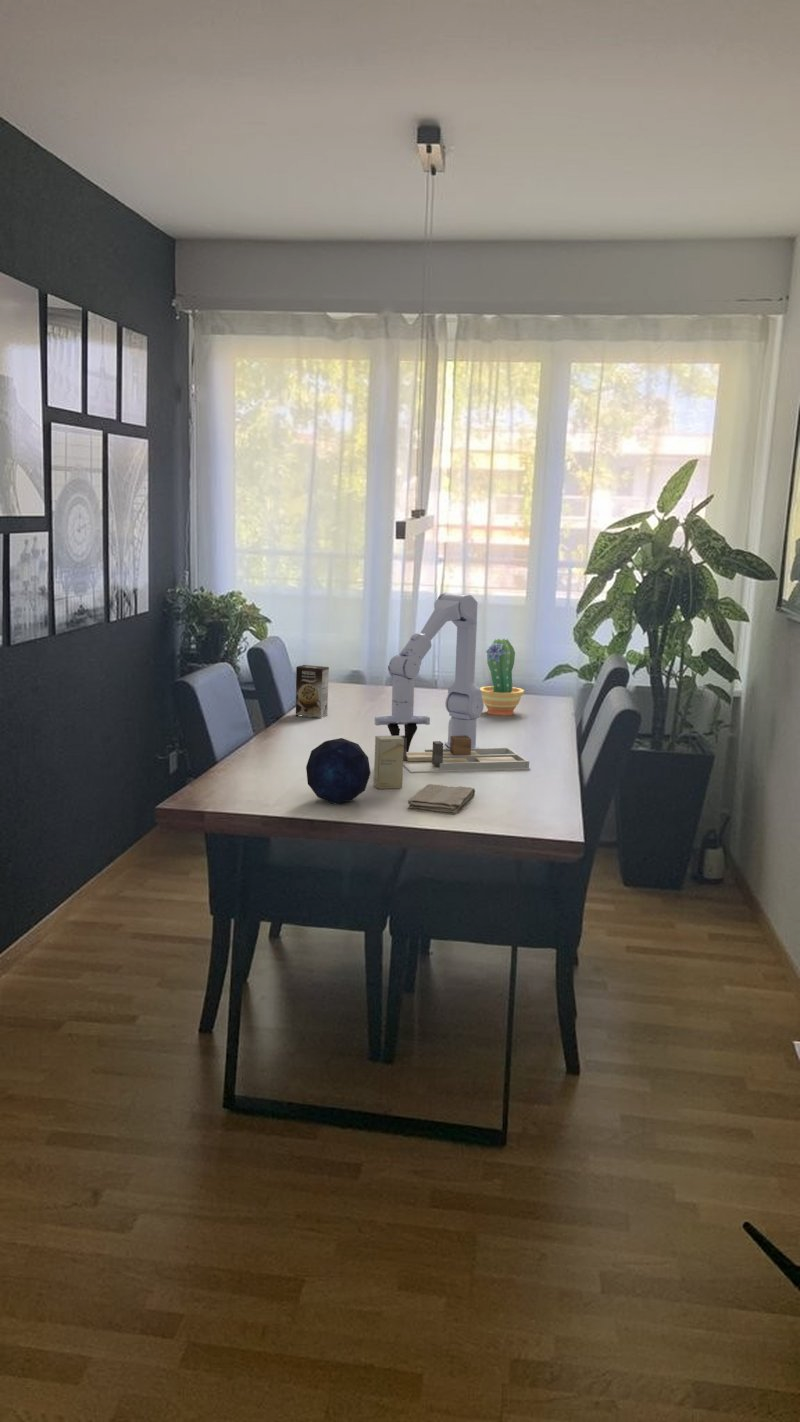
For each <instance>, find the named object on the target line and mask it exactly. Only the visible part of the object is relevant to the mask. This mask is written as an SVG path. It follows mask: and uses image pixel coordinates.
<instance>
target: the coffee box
mask: <svg viewBox="0 0 800 1422" xmlns="http://www.w3.org/2000/svg"><path fill="white" fill-rule="evenodd" d="M295 669H296V675H295V676H296V678H295V680H296V681H295V682H296V683H295V685H296V686H295V716H296V715H302V716H310V717H309V718H312V717H318V718H317V719H322V717H323V718H325V717H327V716H328V711H329V710H328V709H329V708H328V707H329V706H328V705H329V704H328V703H329V700H328V699H329V674H330V673H329V670H330V667H329V666H323V665H322V666H320V665H309V664H302V665H298V666H296V668H295ZM326 715H327V716H326ZM324 716H325V717H324Z"/></svg>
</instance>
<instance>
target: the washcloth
mask: <svg viewBox="0 0 800 1422" xmlns="http://www.w3.org/2000/svg"><path fill="white" fill-rule="evenodd" d="M475 792H476V790H475V788H474V787H469V786H454V785H453V786H448V785H443V784H442V785H441V784H432V783H431V784H430V783H429V784H426V785H425V786H424V787H423V788H422V789H420V790H419V791H418V792H416V793H415V794H414V795H413V796H411V797H410V798H409V799H408V801H407V804H408V805H409V806H407V810H414V811H418V812H426V813H427V812H428V813H435V814H436V813H437V814H444V815H447V814H448V815H455V814H459V812H461V811H462V810H463V809H464V808H465V807H466V806H467V805H468V804H469V803H470V802H471V800H473V798H474V797H475Z"/></svg>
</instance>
